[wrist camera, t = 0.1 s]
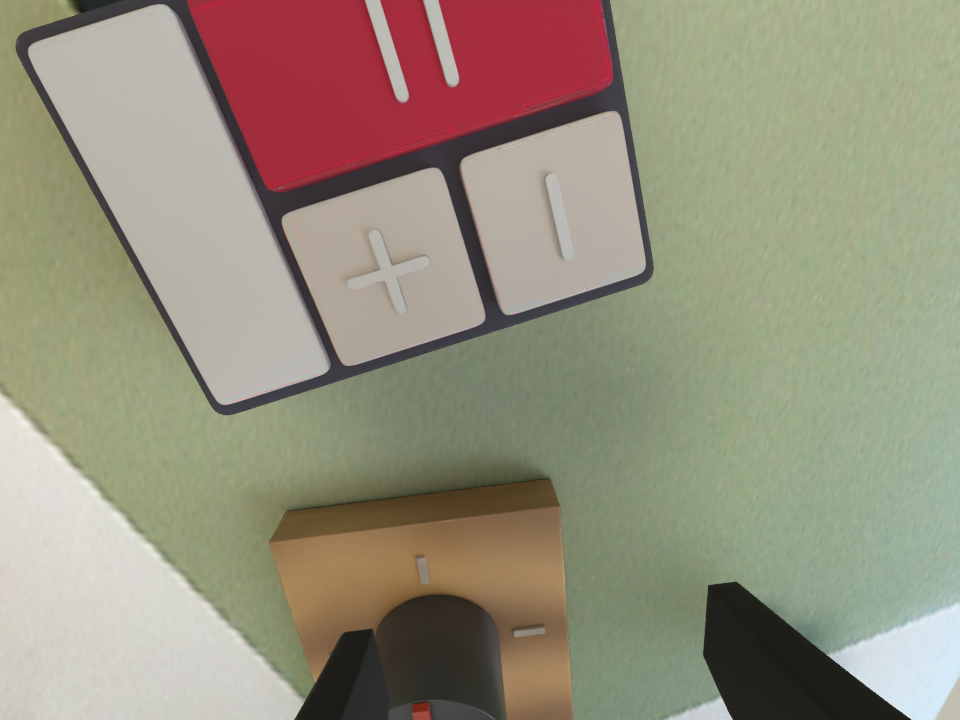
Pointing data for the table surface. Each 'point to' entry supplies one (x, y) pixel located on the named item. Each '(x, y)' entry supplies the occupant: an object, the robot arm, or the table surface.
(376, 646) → the robot arm
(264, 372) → the calculator
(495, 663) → the dial knob
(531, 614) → the rotary dial plate
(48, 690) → the table surface
